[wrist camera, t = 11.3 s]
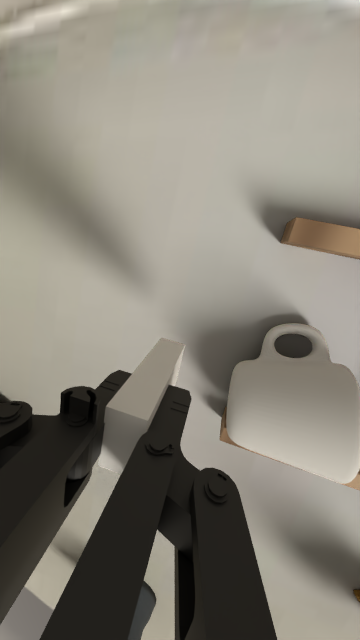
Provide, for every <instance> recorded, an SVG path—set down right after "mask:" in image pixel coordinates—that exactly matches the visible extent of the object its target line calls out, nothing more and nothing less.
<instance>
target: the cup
mask: <svg viewBox="0 0 360 640" xmlns="http://www.w3.org/2000/svg"><path fill="white" fill-rule="evenodd" d="M284 334H300V335H303V336H305V337H307V338H308V339H309V340H310V341H311V343H312V351H311V353H310V354H309V355H308V356H305V357H302V358H289V357H285V356H283V355H281V354H279V353H278V352H277V351H276V349H275V347H274V342H275V340H276V339H277V338H278V337H279V336H281V335H284ZM226 427H227V433H228V436H229V437H230V439H231V440H232V441H233V442H235V443H236V444H238V445H240V446H242V447H244V448H246V449H249V450H251V451H254V452H256V453H259V454H262V455H264V456H267V457H270V458H273V459H275V460H278V461H281V462H283V463H286V464H289V465H291V466H294V467H297V468H299V469H302V470H305V471H307V472H310V473H313V474H315V475H318V476H321V477H323V478H326V479H329V480H332V481H334V482H337V483H342V484H346V483H349V482H351V481H352V480H353V479H354V478H355V477H356V475H357V473H358V472H359V469H360V389H359V385H358V383H357V381H356V379H355V377H354V375H353V374H352V372H351V371H350V370H349V369H348V368H347V367H346V366H344V365H341V364H335V363H332V362H331V360H330V356H329V350H328V346H327V343H326V340H325V338H324V336H323V335H322V334H321V332H320V331H318V330H317V329H316V328H314V327H312V326H309V325H305V324H299V323H287V324H281V325H278V326H275V327H273V328H272V329H270V330H269V331H268V333H267V334H266V336H265V338H264V341H263V345H262V350H261V354H260V356H259V357H258V358H257V359H255V360H246V361H241V362H239V363H238V364H237V365H236V366H235V368H234V370H233V373H232V377H231V382H230V388H229V395H228V403H227V416H226Z"/></svg>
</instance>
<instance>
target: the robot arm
mask: <svg viewBox="0 0 360 640" xmlns="http://www.w3.org/2000/svg"><path fill="white" fill-rule="evenodd" d="M184 348H185V344H182V343H178V342H175V341H171V340H168V339H164V338H161V339H160V340H159V341H158V343H157V344H156V345H155V346H154V347H153V349H152V350H151V351H150V352H149V354H148V355H147V356H146V357H145V359H144V360H143V361H142V362H141V364H140V365H139V366H138V367H137V368H136V370H135V371H134V372H133V373H132V374H131V373H128V372H124V371H121V370H118V371H116V372H114V373H112V374H110V375H109V376H108V377H107V378H106V379H105V380H104V381H103V382H102V383H101V384H100V385H99V387H97V388H96V389H95V390H94V389H93V388H90V387H85V386H78V387H72V388H69V389H66V390H65V391H63V392H61V404H60V413H59V414H58V415H55V416H48V415H32V407H31V406H30V405H29V404H28V403H25V402H22V401H11V402H5V403H0V624H1V623H2V621H3V620H4V618H5V616H6V615H7V613H8V611H9V609H10V608H11V607H12V605H13V603H14V602H15V600H16V598H17V597H18V595H19V594H20V592H21V590H22V589H23V587H24V585H25V584H26V582H27V581H28V579H29V577H30V576H31V574H32V572H33V571H34V569H35V568H36V566H37V564H38V563H39V561H40V559H41V558H42V556H43V555H44V553H45V551H46V550H47V548H48V546H49V545H50V543H51V542H52V540H53V538H54V537H55V535H56V533H57V532H58V530H59V529H60V527H61V525H62V524H63V522H64V520H65V519H66V517H67V516H68V514H69V512H70V511H71V509H72V507H73V506H74V504H75V503H76V501H77V499H78V498H79V496H80V494H81V493H82V491H83V490H84V488H85V486H86V485H87V483H88V481H89V479H90V477H91V474H92V467H93V465H94V464H95V462H96V460H97V459H98V457H99V463H98V466H99V467H102V468H105V469H107V470H110V471H113V472H115V473H118V474H121V476H120V478H119V480H118V482H117V484H116V486H115V488H114V490H113V492H112V494H111V496H110V498H109V500H108V502H107V504H106V506H105V508H104V510H103V512H102V514H101V516H100V518H99V520H98V522H97V524H96V526H95V528H94V530H93V532H92V535H91V537H90V539H89V541H88V543H87V545H86V547H85V549H84V551H83V553H82V555H81V557H80V559H79V561H78V563H77V565H76V567H75V569H74V571H73V573H72V575H71V577H70V579H69V581H68V583H67V585H66V587H65V589H64V591H63V593H62V595H61V597H60V599H59V601H58V603H57V605H56V607H55V609H54V612H53V613H52V615H51V617H50V619H49V622H48V624H47V626H46V628H45V630H44V632H43V634H42V636H41V638H40V640H128V636H129V633H130V629H131V625H132V621H133V618H134V614H135V610H136V606H137V602H138V599H139V595H140V591H141V587H142V584H143V580H144V576H145V572H146V569H147V565H148V561H149V557H150V554H151V550H152V546H153V542H154V539H155V535H156V531H157V530H158V531H159V532H161V533H162V534H163V535H164V536H165V537H166V538H167V539H168V540H169V541H170V542H171V543H172V544H173V545H174V546H175V640H277V637H276V633H275V629H274V625H273V621H272V618H271V614H270V610H269V606H268V602H267V598H266V594H265V591H264V587H263V583H262V579H261V575H260V571H259V567H258V564H257V560H256V556H255V552H254V548H253V544H252V541H251V537H250V533H249V529H248V525H247V521H246V517H245V514H244V510H243V506H242V502H241V498H240V494H239V491H238V489H237V487H236V484H235V483H234V482H233V480H232V479H231V478H230V477H229V476H228V475H227V474H225V473H224V472H223V471H221V470H218V469H215V468H205V469H203V470H201V471H200V470H198V469H197V468H196V467H194V466H193V465H192V464H190V463H189V462H188V461H187V460H186V458H185V457H184V456H183V453H182V451H181V447H180V441H181V437H182V433H183V429H184V425H185V422H186V418H187V414H188V410H189V406H190V403H191V396H190V392H189V391H188V390H185V389H182V388H178V387H175V384H176V381H177V377H178V373H179V369H180V364H181V360H182V356H183V352H184Z"/></svg>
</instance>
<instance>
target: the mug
mask: <svg viewBox="0 0 360 640" xmlns="http://www.w3.org/2000/svg"><path fill="white" fill-rule="evenodd" d="M155 604H156V597H155V593H154V592H153V590H152V589H151V587H150V586H149V585H148V584H147V583H146V582H145V581H143V584H142V587H141V591H140V595H139V599H138V602H137V606H136V610H135V614H134V618H133V621H132V625H131V629H130V633H129V636H128V640H141V636H142V632H143V629H144V627H145V626H146V624H147V623H148V621H149V619H150V617H151V614H152V612H153V609H154V607H155Z"/></svg>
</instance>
